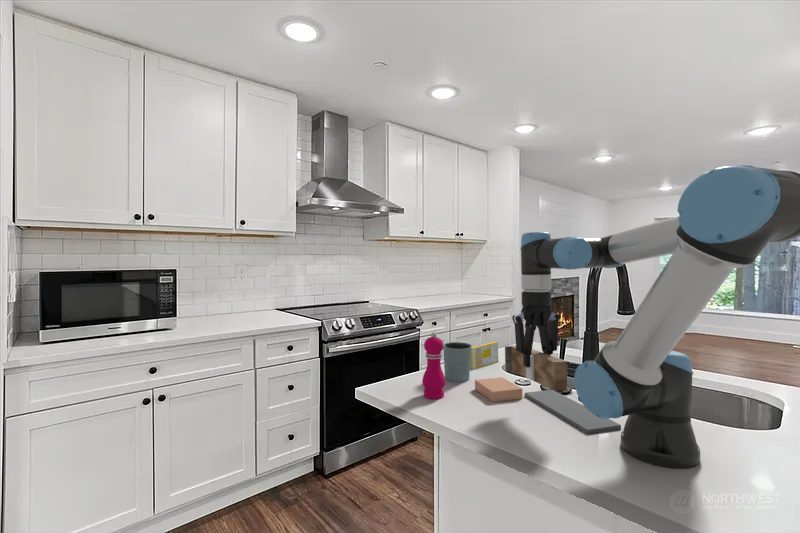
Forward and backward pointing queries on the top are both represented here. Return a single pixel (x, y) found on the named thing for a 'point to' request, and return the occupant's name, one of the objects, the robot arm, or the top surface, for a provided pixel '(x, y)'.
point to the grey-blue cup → (457, 361)
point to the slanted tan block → (498, 389)
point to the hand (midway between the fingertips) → (537, 378)
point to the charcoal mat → (572, 411)
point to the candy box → (484, 355)
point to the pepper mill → (433, 368)
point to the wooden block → (539, 368)
